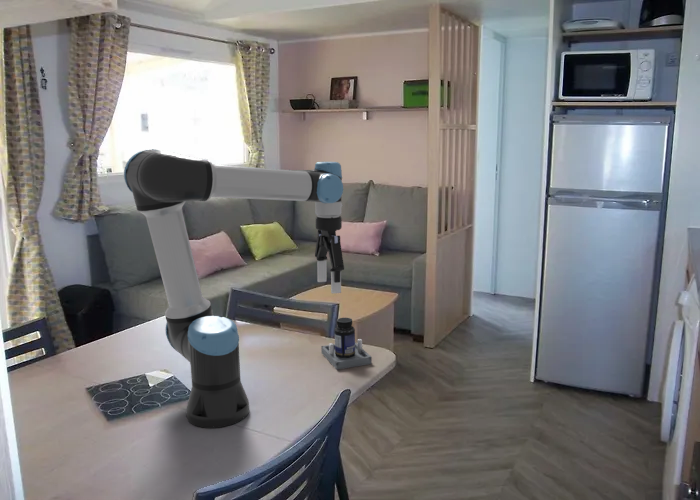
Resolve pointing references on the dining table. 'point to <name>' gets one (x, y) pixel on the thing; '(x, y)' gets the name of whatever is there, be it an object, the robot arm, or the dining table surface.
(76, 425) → the dining table surface
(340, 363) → the tray
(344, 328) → the pill bottle
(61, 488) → the dining table surface
